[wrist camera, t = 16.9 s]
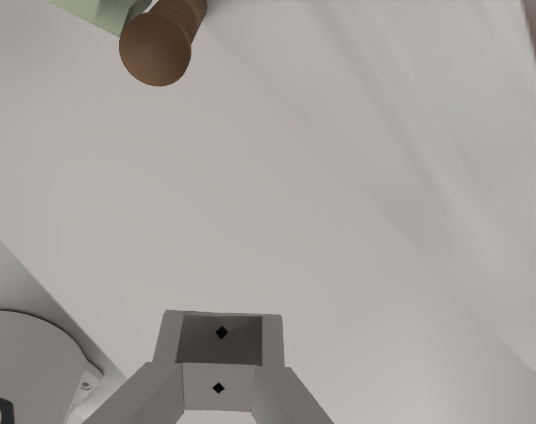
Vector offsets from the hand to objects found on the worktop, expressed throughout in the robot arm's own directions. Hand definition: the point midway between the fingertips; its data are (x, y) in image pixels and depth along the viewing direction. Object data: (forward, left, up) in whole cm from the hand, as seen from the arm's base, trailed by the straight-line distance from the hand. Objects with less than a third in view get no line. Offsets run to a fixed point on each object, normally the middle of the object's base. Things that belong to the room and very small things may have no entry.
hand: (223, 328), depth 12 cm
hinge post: (0, +5, -26) cm, 26 cm away
